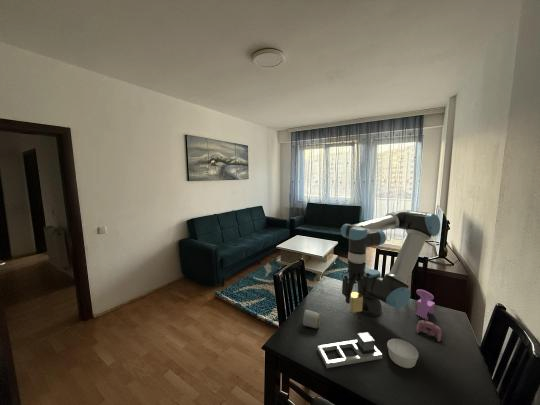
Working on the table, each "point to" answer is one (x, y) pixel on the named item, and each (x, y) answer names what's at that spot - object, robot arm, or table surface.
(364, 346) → the grey rectangular block
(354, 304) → the yellow rectangular block
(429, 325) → the video game controller
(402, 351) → the ramekin
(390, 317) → the table surface
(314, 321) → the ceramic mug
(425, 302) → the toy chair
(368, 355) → the white flat slotted board
